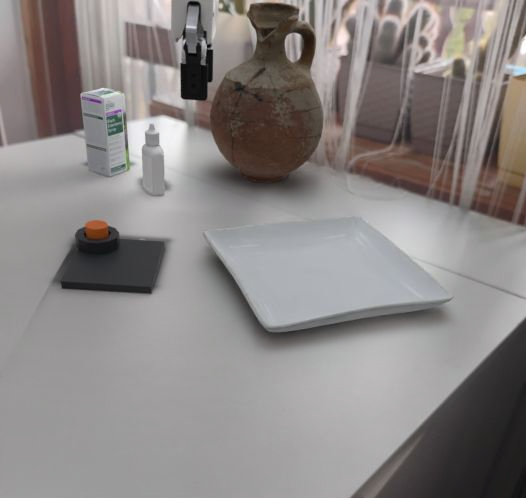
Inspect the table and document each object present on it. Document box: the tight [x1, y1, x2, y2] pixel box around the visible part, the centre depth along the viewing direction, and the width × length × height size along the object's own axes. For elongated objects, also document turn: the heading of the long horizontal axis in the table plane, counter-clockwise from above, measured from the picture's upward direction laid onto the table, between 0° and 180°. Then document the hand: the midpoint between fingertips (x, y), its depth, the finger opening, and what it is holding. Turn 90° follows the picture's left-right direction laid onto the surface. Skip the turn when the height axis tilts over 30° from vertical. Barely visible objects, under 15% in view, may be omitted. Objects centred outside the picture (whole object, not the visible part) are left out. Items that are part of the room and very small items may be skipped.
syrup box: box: [79, 87, 131, 178], centre depth 117 cm, size 6×6×14 cm
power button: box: [84, 219, 109, 239], centre depth 91 cm, size 3×3×2 cm
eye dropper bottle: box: [141, 122, 166, 197], centre depth 111 cm, size 4×6×12 cm
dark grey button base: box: [60, 225, 166, 295], centre depth 89 cm, size 12×14×3 cm
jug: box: [209, 1, 325, 183], centre depth 117 cm, size 22×22×30 cm
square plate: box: [202, 215, 455, 333], centre depth 89 cm, size 27×27×4 cm
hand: (197, 90), depth 80 cm, fingers open, 9 cm apart
